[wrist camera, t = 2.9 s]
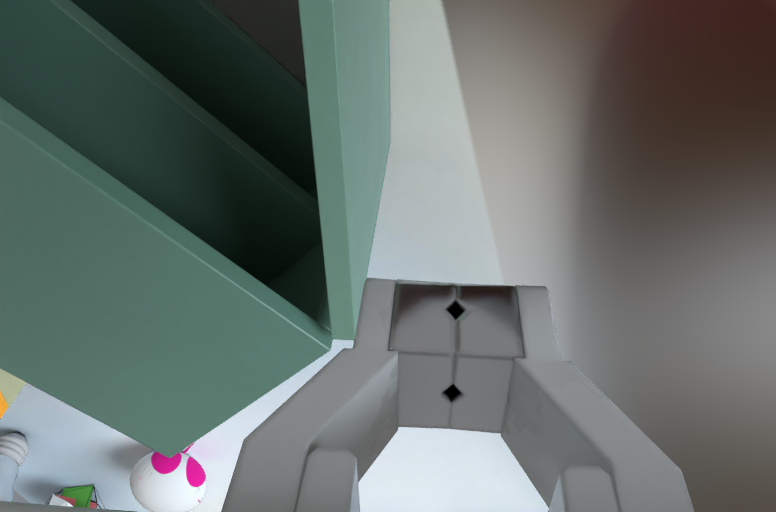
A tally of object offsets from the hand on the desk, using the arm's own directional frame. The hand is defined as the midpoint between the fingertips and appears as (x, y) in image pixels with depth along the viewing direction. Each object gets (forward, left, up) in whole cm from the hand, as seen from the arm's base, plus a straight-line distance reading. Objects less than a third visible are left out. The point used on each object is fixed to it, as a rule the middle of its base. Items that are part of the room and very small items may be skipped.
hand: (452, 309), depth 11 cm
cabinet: (+18, -5, -27) cm, 33 cm away
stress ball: (+52, +16, -27) cm, 61 cm away
